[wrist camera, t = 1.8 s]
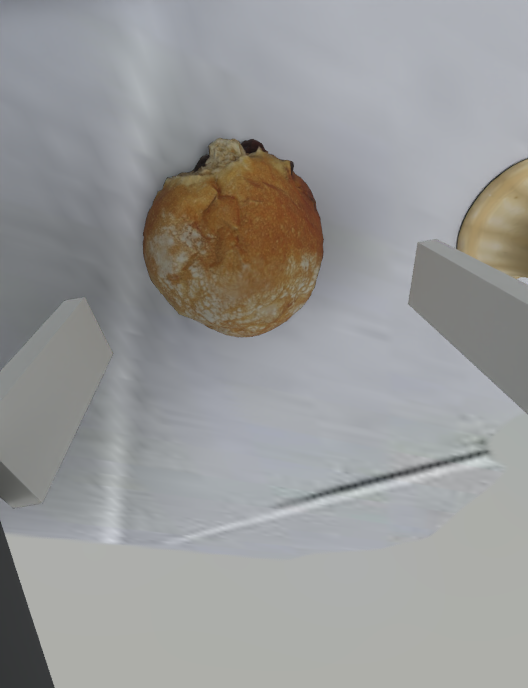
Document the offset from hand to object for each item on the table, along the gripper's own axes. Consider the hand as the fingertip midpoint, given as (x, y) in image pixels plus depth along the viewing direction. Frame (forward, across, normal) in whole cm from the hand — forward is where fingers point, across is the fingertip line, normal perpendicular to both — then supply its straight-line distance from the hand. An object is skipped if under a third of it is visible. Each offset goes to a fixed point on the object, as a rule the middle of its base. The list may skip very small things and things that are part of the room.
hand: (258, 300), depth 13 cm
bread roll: (+8, -1, 0) cm, 9 cm away
